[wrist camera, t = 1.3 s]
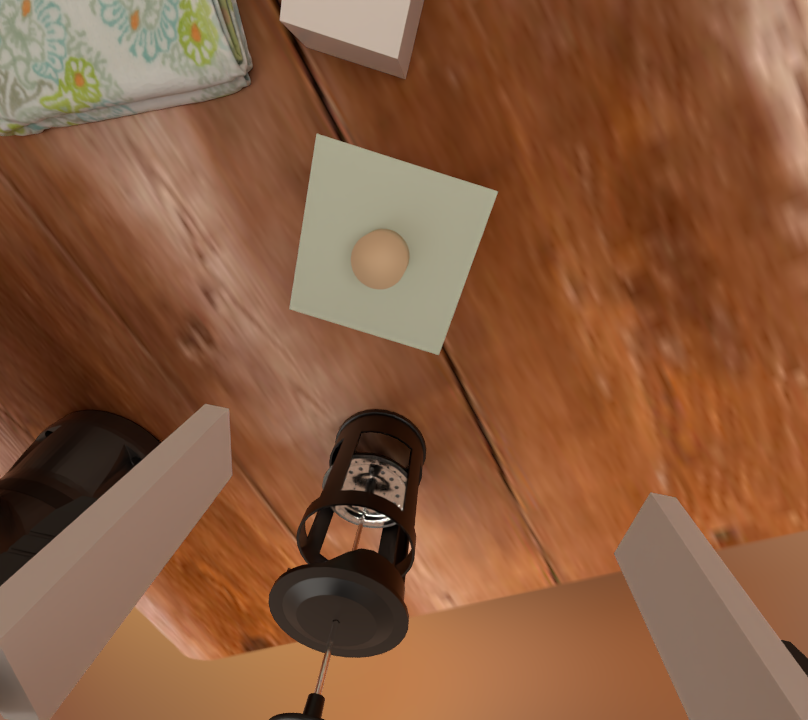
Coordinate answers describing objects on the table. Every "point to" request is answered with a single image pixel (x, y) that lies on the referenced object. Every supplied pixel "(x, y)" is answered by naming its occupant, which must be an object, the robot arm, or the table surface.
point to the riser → (357, 30)
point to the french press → (354, 553)
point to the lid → (386, 244)
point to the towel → (114, 59)
